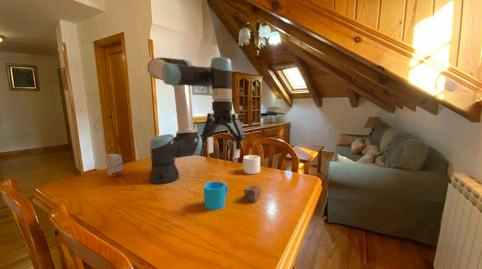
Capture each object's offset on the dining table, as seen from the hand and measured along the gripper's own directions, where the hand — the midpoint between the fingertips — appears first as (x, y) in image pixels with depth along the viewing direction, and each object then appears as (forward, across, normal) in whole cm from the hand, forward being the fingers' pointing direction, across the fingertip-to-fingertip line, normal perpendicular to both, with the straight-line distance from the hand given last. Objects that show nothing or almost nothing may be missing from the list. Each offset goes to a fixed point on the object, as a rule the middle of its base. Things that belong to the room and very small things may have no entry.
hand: (223, 155), depth 82 cm
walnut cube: (+20, +8, +9) cm, 23 cm away
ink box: (+20, -72, -10) cm, 76 cm away
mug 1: (+20, -1, -2) cm, 20 cm away
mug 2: (+20, -11, +39) cm, 45 cm away
